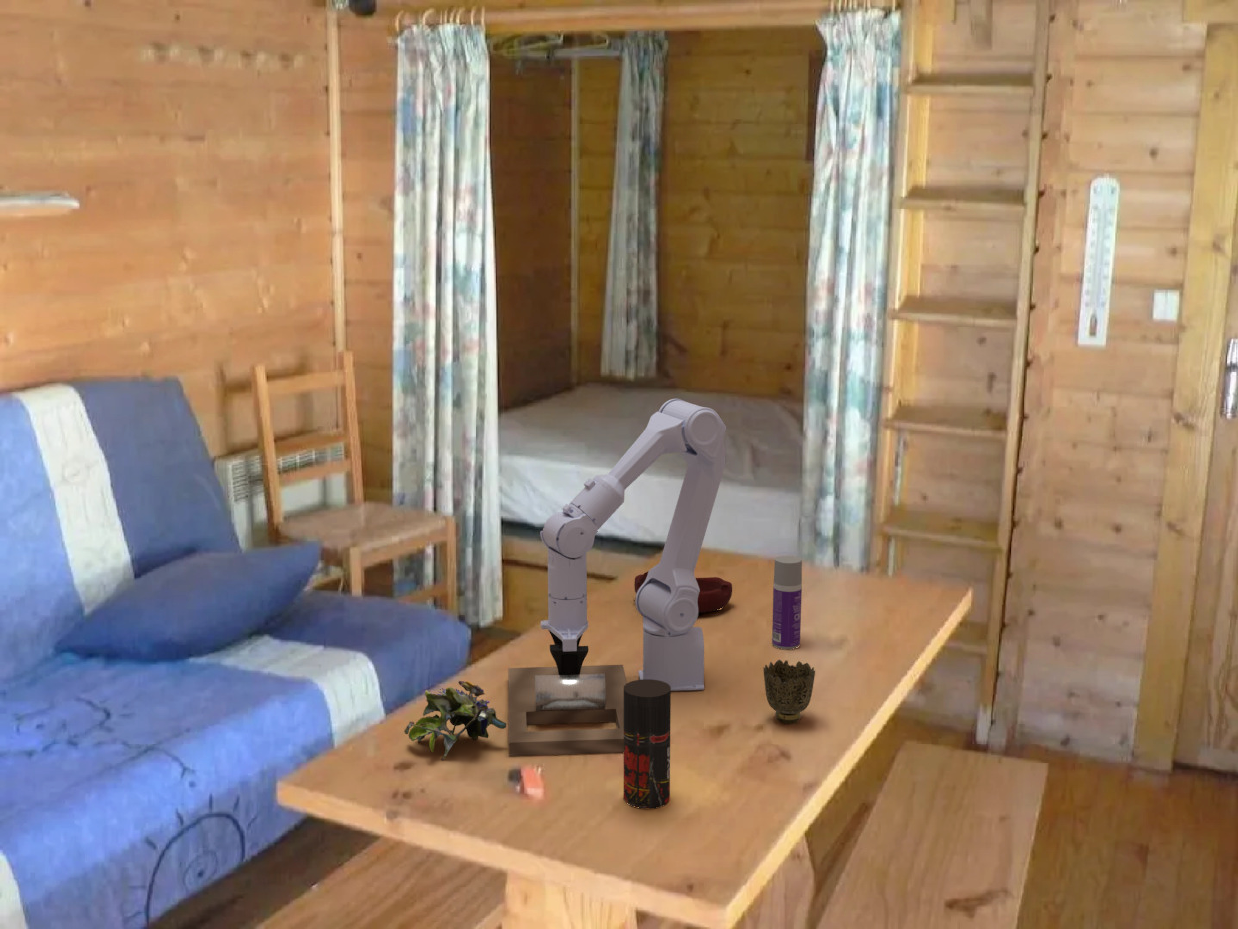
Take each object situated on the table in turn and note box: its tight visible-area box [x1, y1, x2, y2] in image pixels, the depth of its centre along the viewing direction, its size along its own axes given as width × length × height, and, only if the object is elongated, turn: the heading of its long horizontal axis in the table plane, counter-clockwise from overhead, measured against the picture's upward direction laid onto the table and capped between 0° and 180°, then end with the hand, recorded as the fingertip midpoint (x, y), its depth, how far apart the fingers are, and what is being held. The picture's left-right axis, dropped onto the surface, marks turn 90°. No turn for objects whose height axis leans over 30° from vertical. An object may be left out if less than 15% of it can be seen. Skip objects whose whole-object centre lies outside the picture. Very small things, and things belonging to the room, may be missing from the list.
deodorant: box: [623, 679, 672, 809], centre depth 174 cm, size 6×6×15 cm
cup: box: [763, 659, 816, 725], centre depth 198 cm, size 8×7×8 cm
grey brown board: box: [507, 664, 628, 757], centre depth 202 cm, size 18×28×2 cm, turn 5°
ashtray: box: [634, 570, 733, 614], centre depth 248 cm, size 18×16×5 cm
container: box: [771, 555, 803, 650], centre depth 228 cm, size 5×5×15 cm
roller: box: [535, 674, 606, 711], centre depth 198 cm, size 10×5×5 cm, turn 94°
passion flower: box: [403, 680, 507, 761], centre depth 189 cm, size 11×11×12 cm
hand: (568, 680), depth 205 cm, fingers open, 7 cm apart
